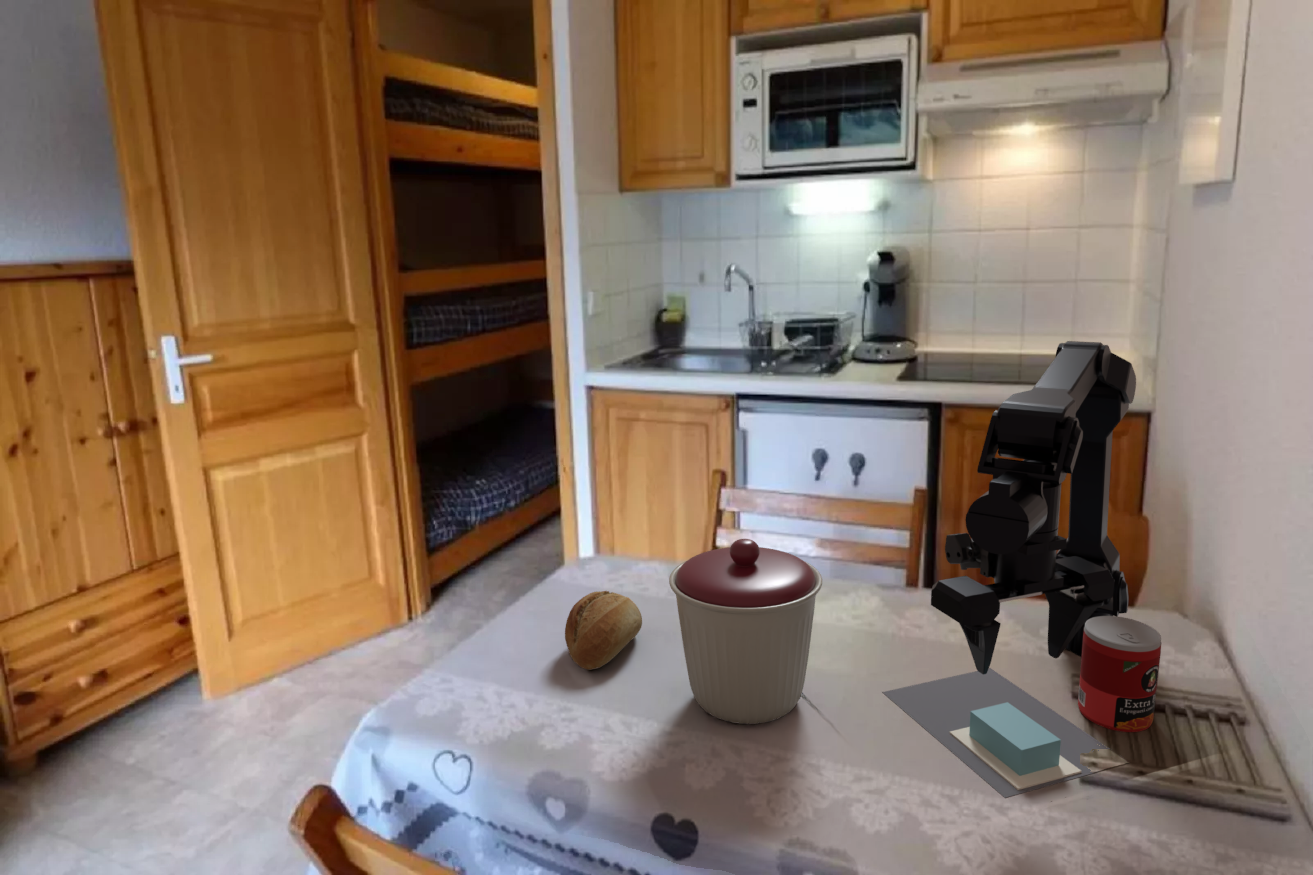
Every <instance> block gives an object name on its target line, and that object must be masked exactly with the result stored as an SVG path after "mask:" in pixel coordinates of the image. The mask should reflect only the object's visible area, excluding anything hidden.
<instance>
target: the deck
mask: <svg viewBox="0 0 1313 875" xmlns="http://www.w3.org/2000/svg"><path fill="white" fill-rule="evenodd" d="M969 736H971V737H972V738H973V739H974V740H976V741H977V742H978V743H979V744H981V745H982V746H983V747H984V748H986V749H987V750H988V751H989V752H991V753H992V754H993V755H994V756H995V757H997V758H998V759H999V760H1000V761H1002V762H1003V763H1004V764H1005V765H1007V766H1008V767H1009V768H1010V769H1012V770H1013V771H1014V772H1015V773H1017V774H1018V775H1019V776H1022V775H1025V774H1029V773H1033V772H1036V771H1040V770H1044V769H1047V768H1051V767H1055V766H1058V765H1059V757H1060V745H1061V740H1060V739H1059V738H1058V737H1056V736H1055V735H1053V734H1052V733H1050V732H1049V731H1048V730H1046V729H1045V728H1043V727H1042V726H1041V725H1039V724H1038V723H1036V722H1035V721H1033V720H1032V719H1031V718H1029V717H1028V716H1026V715H1025V714H1024V713H1022V712H1021V711H1019V710H1018V709H1016V708H1015V707H1014V706H1012V705H1011V704H1009V703H1008V702H1007V703H1003V704H998V705H994V706H990V707H986V708H982V709H978V710H974V711H970V730H969Z"/></svg>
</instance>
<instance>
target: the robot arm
mask: <svg viewBox="0 0 1313 875" xmlns="http://www.w3.org/2000/svg"><path fill="white" fill-rule="evenodd" d="M1136 387H1137V376H1136V373H1135V369H1134V367H1133V364H1132V363H1131V362H1130V361H1128V360H1126V359H1125V358H1122V357H1121V356H1119V355H1117V354H1115V353H1114V352H1112V351H1111V349H1110V346H1109V345H1108V344H1103V343H1102V342H1099V341H1098V342H1097V341H1077V340H1074V341H1073V340H1067V341H1065V342H1060V343H1059V344H1058V345H1057V348H1056V352H1055V357H1054V359H1053V360H1052V362H1050V364H1049V366H1048V367H1047V368H1046V369H1045V371H1044V372H1043V374H1042V375H1041V377H1039V379H1038V381H1037V382H1036V383H1035V385H1034V386H1033V388H1031V389H1030V390H1024V391H1021V392H1017V393H1013V394H1012V395H1010V396H1009V397H1008V398H1006V399H1004V401H1003V402H1002V403H1001V404H1000V405H999V407H998V408H997V409H995V411H993V413H992V415H991V417H990V420H989V424H988V427H987V430H986V431H987V432H986V436H985V438H984V443H983V446H982V450H981V454H980V458H979V461H978V465H977V469H976V470H977V474H983V475H990V476H991V475H992V479H991V481H989V484H988V490H987V491H986V492H984V493H983V494H982V495H980V496H979V497H978V498H977V499H975V500H974V501H973V502H972V503H971V505H970V506H969V508H968V510H967V512H966V514H965V527H966V530H967V532H963V533H960V532H958V533H953V534H946V537H945V545H944V553H945V559H946V560H947V562H948V564H950V565H959V566H960V570H962V571H965V570H966V571H967V570H968V569H979V570H980V571H979V574H980V575H982V576H984V577H985V578H993V582H994V583H989V584H982V583H980V582H978V581H977V580H974V579H972V578H970V577H969V576H967V575H963V576H956V577H952V578H946V579H941V580H940V579H939V580H937V581H936V582H935V583H934V584H933V585H932V588H931V592H930V593H931V594H930V606H932V607H933V608H934V609H936V610H938V611H940V612H941V613H943V614H945V615H946V616H948V617H949V618H951V619H952V620H954V621H955V622H957V623H958V624H959V626H960V628H961V629H962V631H963V634H964V637H965V639H966V642H967V645H968V647H969V650H970V654H971V656H972V659H973V662H974V666H975V669H976V671H979V672H980V673H981V674H983V675H984V674H987V671H988V669H989V668H990V666H991V663H992V660H993V655H994V653H995V647H996V644H997V640H998V637H999V632H1000V628H1001V625H1002V624H1001V622H999V621H998V620H996V619H997V617H998V616H999V615H1000V611H1001V603H1006V602H1010V601H1011V602H1012V601H1014V600H1019V599H1020V600H1021V599H1025V598H1029V597H1030V598H1032V597H1037V596H1042V595H1044V596H1045V598H1046V600H1047V604H1048V619H1047V620H1048V623H1047V628H1048V629H1047V651H1048V655H1049V656H1050V657H1051V658H1053V659H1058V658H1059V657H1060V656H1061V655H1062V653H1064V651H1065V649H1066V650H1068V651H1070V652H1071V653H1074V654H1075V655H1077V656H1078V657H1082V644H1083V634H1084V627H1085V623H1086V621H1087V620H1089V619H1091V618H1093V617H1098V616H1117V617H1119V615H1120V614H1127V613H1128V610H1129V589H1128V583H1127V582H1126V579H1125V578H1126V577H1125V573H1124V571H1123V570H1122V571H1120V558H1121V557H1120V556H1121V555H1120V554H1121V553H1120V552H1119V550H1118V549H1117V547H1116V546H1115V544H1114V543H1113V541H1112V540H1111V539H1110V537H1109V536H1108V522H1109V521H1108V520H1109V504H1110V501H1109V500H1110V485H1111V467H1112V466H1111V465H1112V450H1113V448H1112V446H1113V433H1114V432H1113V431H1114V430H1115V428H1116V427H1117V426H1118V425H1119V423H1120V422H1121V421H1122V420H1123V418H1124V416H1125V415H1126V414H1127V412H1128V411H1129V408H1130V405H1132V403H1133V402H1134V399H1135V396H1136V395H1135V394H1136ZM996 455H998V456H999V457H996ZM1011 458H1012V459H1011ZM1020 459H1021V460H1020ZM1067 474H1069V475H1070V479H1069V480H1070V482H1069V485H1070V486H1069V505H1068V506H1069V508H1068V509H1069V510H1068V512H1069V513H1068V530H1067V531H1068V533H1067V534H1068V535H1067V536H1068V537H1067V538H1066V537H1063V536H1061V535H1059V533H1058V532H1059V523H1060V521H1059V520H1060V506H1061V495H1062V483H1063V482H1064V481H1065V480H1066V478H1067Z"/></svg>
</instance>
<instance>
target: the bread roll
mask: <svg viewBox="0 0 1313 875" xmlns="http://www.w3.org/2000/svg"><path fill="white" fill-rule="evenodd" d="M566 619H567V620H566V622H565V628H564V639H565V644H566V647H567V650H568V653H569V654H568V655H570V657H571V659H572V660H573V662H574V663H575V665H577V666H579V667H580V668H581V669H585V670H596V669H600V668H601V667H603V666H605V665H606V664H608V663H609V662H610V661H612V660H613V659H614V658H615V657H616V656H617V655H619V653H620V652H621V651H622V650H623V649H624V648H625V647H626V646H627V645H628V644H629V643H630V642H631V641H632V640H633V639H634V638H635V637H636V636H637V635H638V634H639V632H640V630H641V628H642V626H643V616H642V613H641V610H640V609H639V607H638V606H637V604H636V603H635V602H634V601H633V600H632V599H631V598H630V597H628V596H624V595H622V594H619V593H617V592H613V591H612V592H610V591H607V590H604V591H592V592H589V593H588V594H586V595H585V596H583V597H582V598H581V599H579V600H578V601H577V602H576V603H575V604H573V606H572V608H571V609H570V611H569V613H568V615H567V618H566Z"/></svg>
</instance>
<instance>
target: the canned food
mask: <svg viewBox="0 0 1313 875" xmlns="http://www.w3.org/2000/svg"><path fill="white" fill-rule="evenodd" d="M1161 653H1162V635H1161V633H1159V631H1158V630H1157V629H1156V628H1154V627H1153V626H1150V625H1148V624H1146V623H1144V622H1141V621H1139V620H1136V619H1132V618H1128V617H1124V616H1118V617H1117V616H1098V617H1093V618H1091V619H1089V620H1087V621H1086V623H1085V627H1084V634H1083V644H1082V657H1081V658H1080V659H1081V660H1080V670H1079V671H1080V673H1079V682H1078V684H1079V686H1078V695H1077V696H1078V699H1077V705H1078V709H1079V712H1080V713H1081V715H1082V716H1083V717H1085V718H1086V719H1087V720H1088V721H1090V722H1091V723H1094V724H1095V725H1098V726H1100V727H1102V728H1104V729H1108V730H1111V731H1117V732H1121V733H1123V732H1124V733H1137V732H1139V733H1140V732H1143V731H1146V730H1147V729H1149V728H1150V727H1151V726H1152V724H1153V721H1154V716H1155V706H1156V697H1157V689H1158V680H1159V673H1160V672H1159V670H1160V662H1161Z"/></svg>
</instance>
